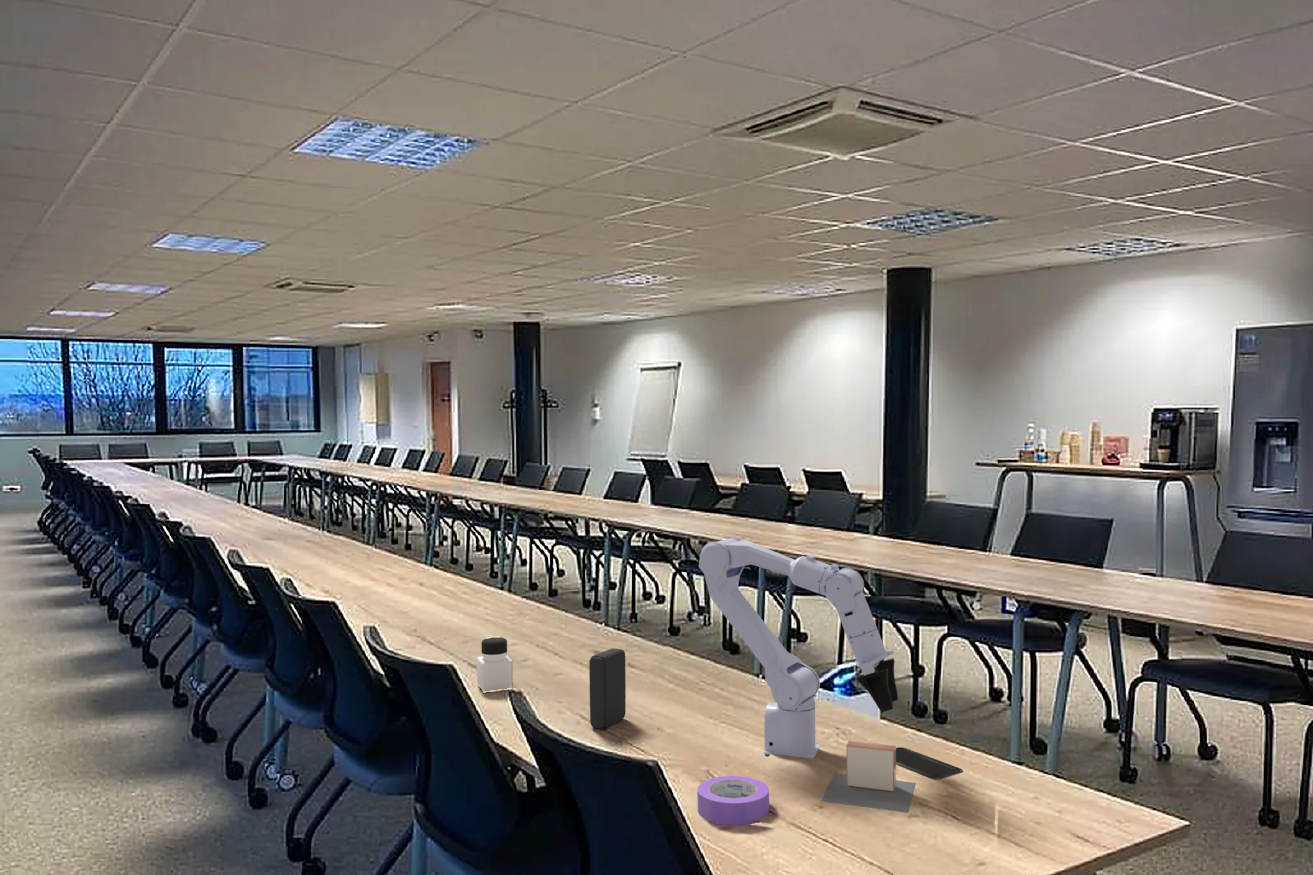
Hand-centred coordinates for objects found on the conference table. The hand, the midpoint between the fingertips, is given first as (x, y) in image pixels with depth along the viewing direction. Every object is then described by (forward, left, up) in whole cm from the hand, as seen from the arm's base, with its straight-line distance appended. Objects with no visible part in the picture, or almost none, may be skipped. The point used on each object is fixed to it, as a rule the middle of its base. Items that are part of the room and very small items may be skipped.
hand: (890, 705), depth 170 cm
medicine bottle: (-95, +22, -12) cm, 98 cm away
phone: (+5, +3, -12) cm, 13 cm away
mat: (-2, -13, -12) cm, 18 cm away
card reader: (-59, +7, -12) cm, 61 cm away
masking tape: (-22, -27, -12) cm, 37 cm away
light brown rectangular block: (-2, -11, -11) cm, 15 cm away
